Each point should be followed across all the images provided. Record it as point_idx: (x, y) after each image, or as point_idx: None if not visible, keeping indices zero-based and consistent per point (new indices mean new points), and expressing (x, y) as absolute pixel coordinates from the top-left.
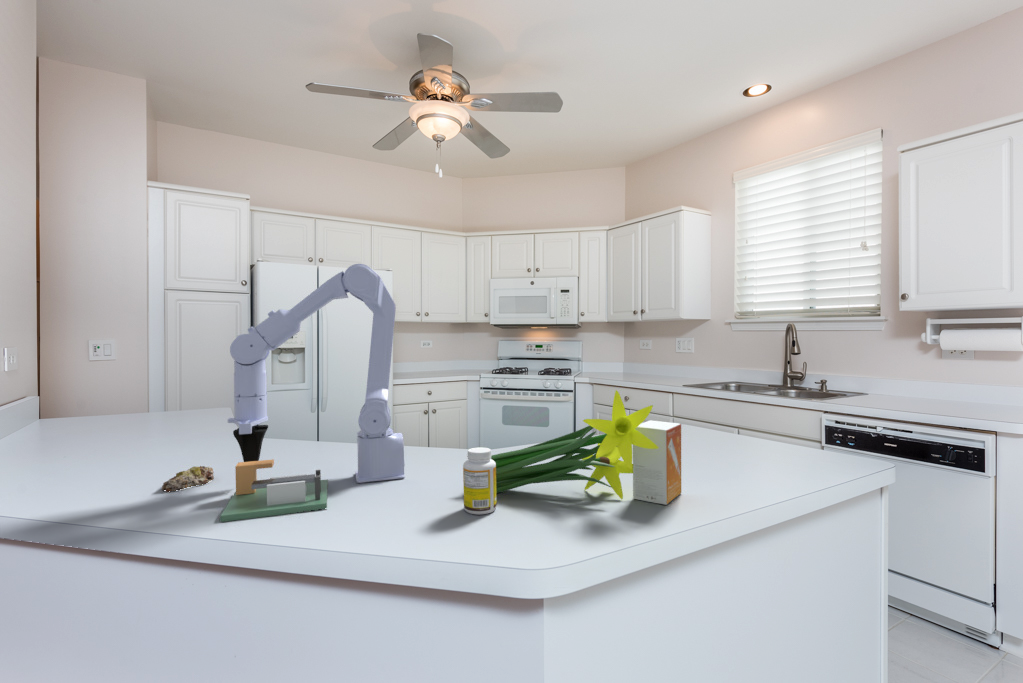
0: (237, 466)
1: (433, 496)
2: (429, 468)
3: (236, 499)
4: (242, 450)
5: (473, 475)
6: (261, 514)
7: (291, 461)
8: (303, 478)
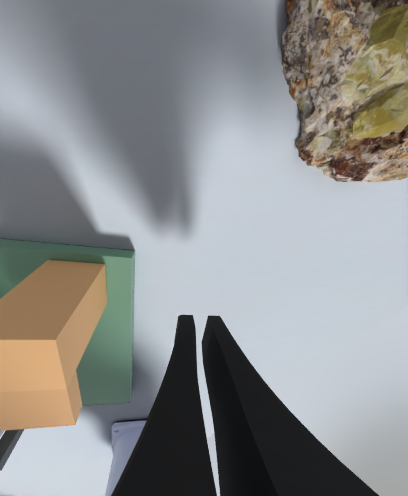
0: None
1: (5, 480)
2: None
3: (2, 262)
4: (165, 378)
5: None
6: None
7: (357, 334)
8: None
